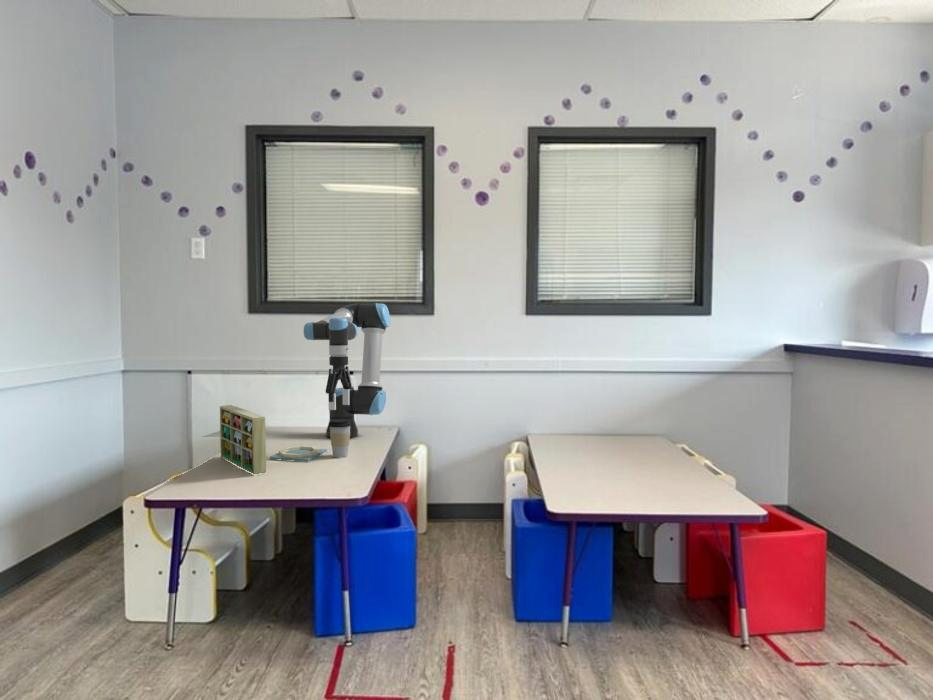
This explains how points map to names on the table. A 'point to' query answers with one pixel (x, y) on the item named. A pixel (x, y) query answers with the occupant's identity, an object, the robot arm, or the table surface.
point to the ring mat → (299, 453)
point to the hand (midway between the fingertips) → (339, 407)
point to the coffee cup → (340, 436)
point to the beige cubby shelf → (243, 438)
